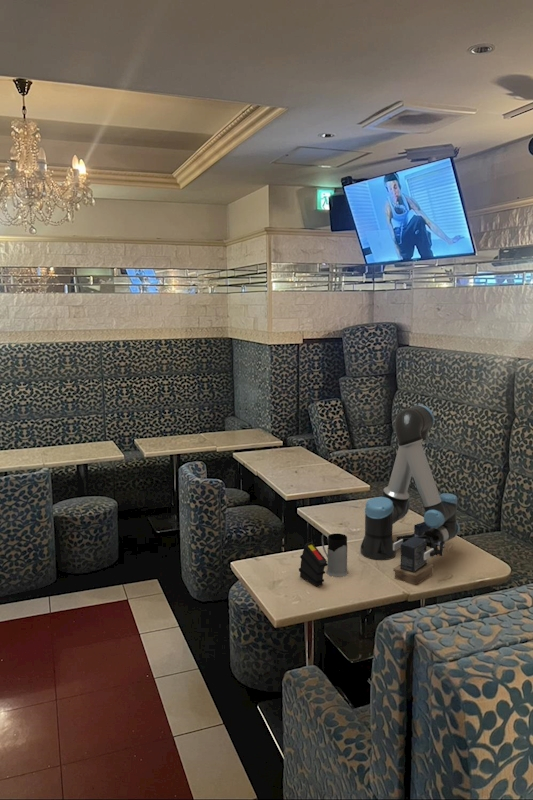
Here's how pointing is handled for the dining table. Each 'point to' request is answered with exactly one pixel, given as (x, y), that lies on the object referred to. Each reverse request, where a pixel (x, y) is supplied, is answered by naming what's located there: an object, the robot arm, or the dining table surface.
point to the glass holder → (336, 555)
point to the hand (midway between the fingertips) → (408, 551)
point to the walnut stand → (413, 574)
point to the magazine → (312, 565)
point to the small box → (413, 554)
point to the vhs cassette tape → (421, 528)
